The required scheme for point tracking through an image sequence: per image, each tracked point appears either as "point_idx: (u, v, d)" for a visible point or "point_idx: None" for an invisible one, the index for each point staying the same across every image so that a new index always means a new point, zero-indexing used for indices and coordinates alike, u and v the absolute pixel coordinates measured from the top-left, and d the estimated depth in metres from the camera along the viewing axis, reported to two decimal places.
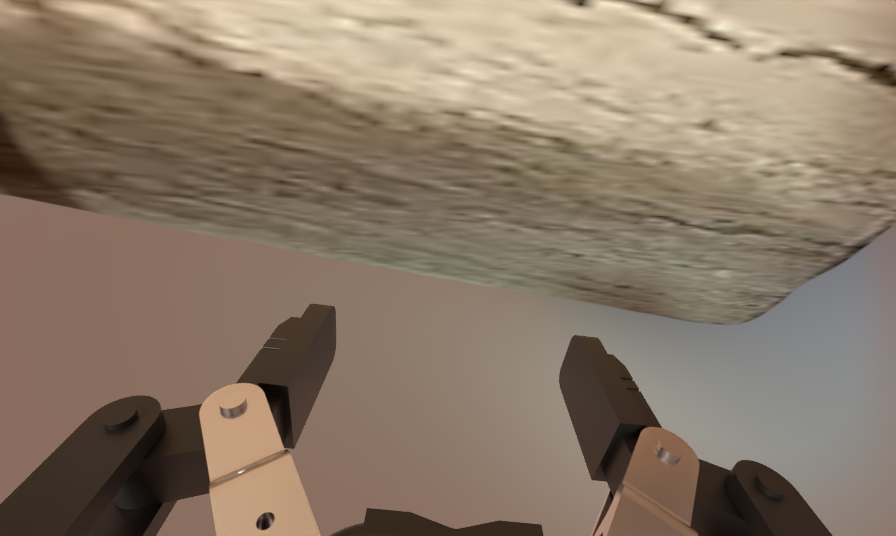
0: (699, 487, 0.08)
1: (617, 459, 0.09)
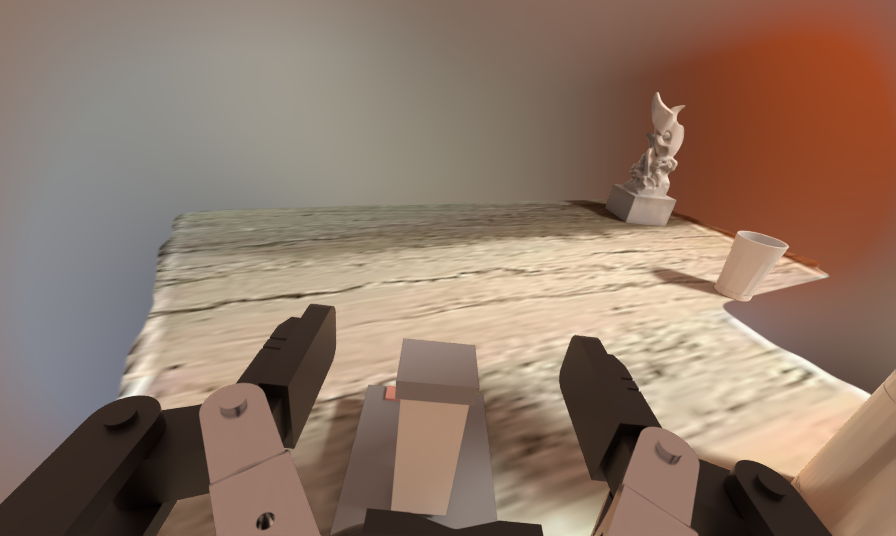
0: (699, 487, 0.08)
1: (617, 459, 0.09)
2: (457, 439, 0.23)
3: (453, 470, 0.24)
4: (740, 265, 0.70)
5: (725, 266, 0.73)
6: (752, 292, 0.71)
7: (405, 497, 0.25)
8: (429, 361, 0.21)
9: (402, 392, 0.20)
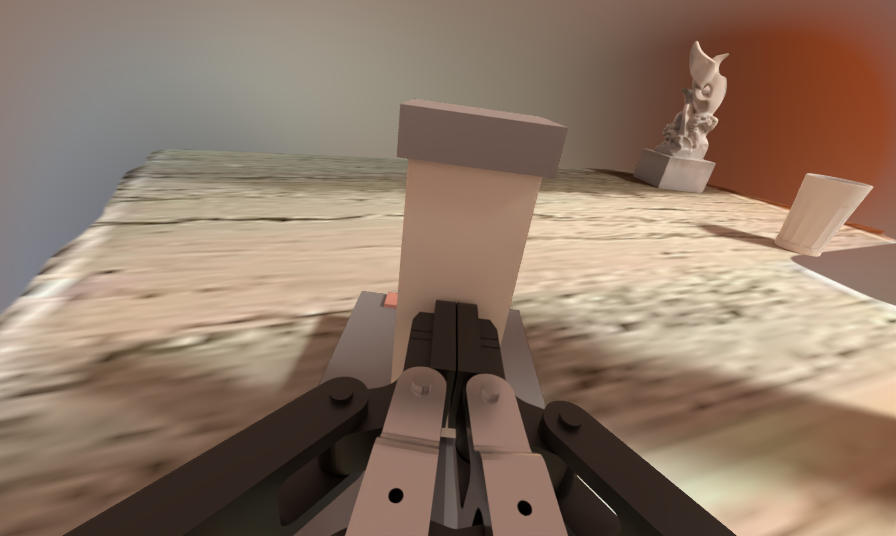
0: None
1: (459, 405, 0.10)
2: (509, 274, 0.12)
3: None
4: (811, 211, 0.58)
5: (790, 216, 0.62)
6: (824, 245, 0.60)
7: None
8: (463, 108, 0.11)
9: (412, 138, 0.10)
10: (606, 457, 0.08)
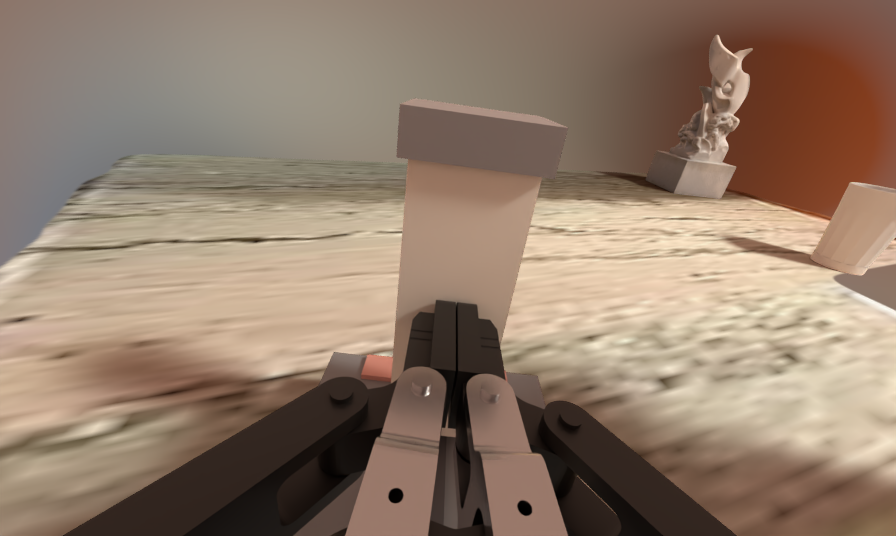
0: None
1: (459, 405, 0.10)
2: (509, 274, 0.12)
3: None
4: (856, 225, 0.52)
5: (830, 229, 0.55)
6: (870, 263, 0.53)
7: None
8: (463, 108, 0.11)
9: (411, 139, 0.10)
10: (606, 457, 0.08)
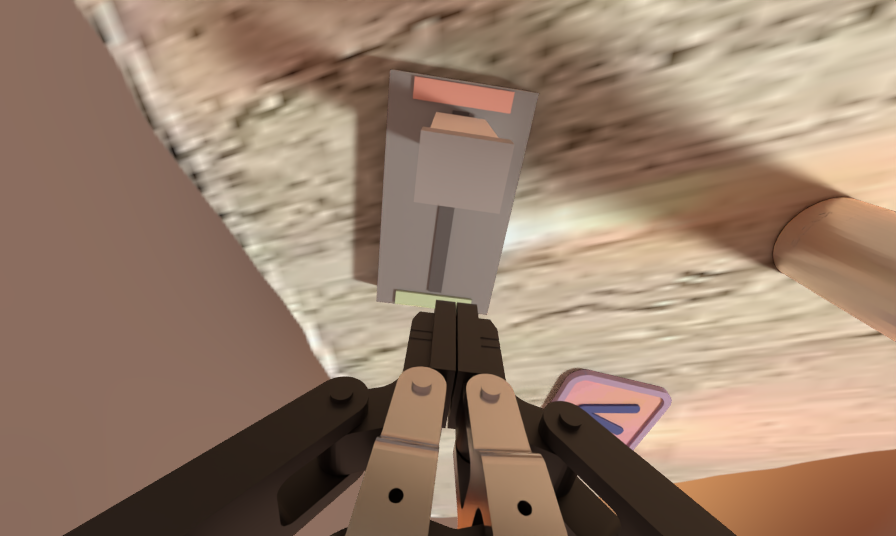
0: None
1: (459, 405, 0.10)
2: None
3: None
4: None
5: None
6: None
7: None
8: (451, 174, 0.18)
9: None
10: (606, 457, 0.08)
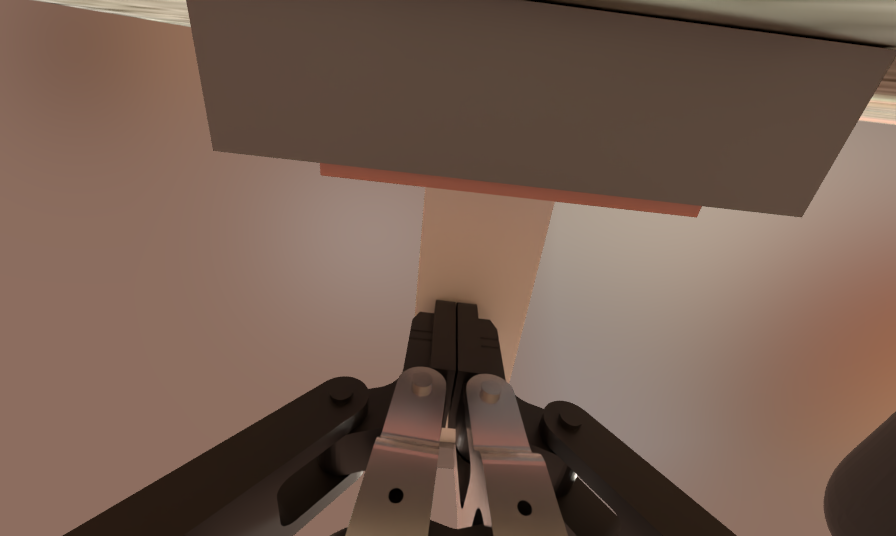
0: None
1: (459, 405, 0.10)
2: None
3: None
4: None
5: None
6: None
7: None
8: None
9: None
10: (606, 457, 0.08)
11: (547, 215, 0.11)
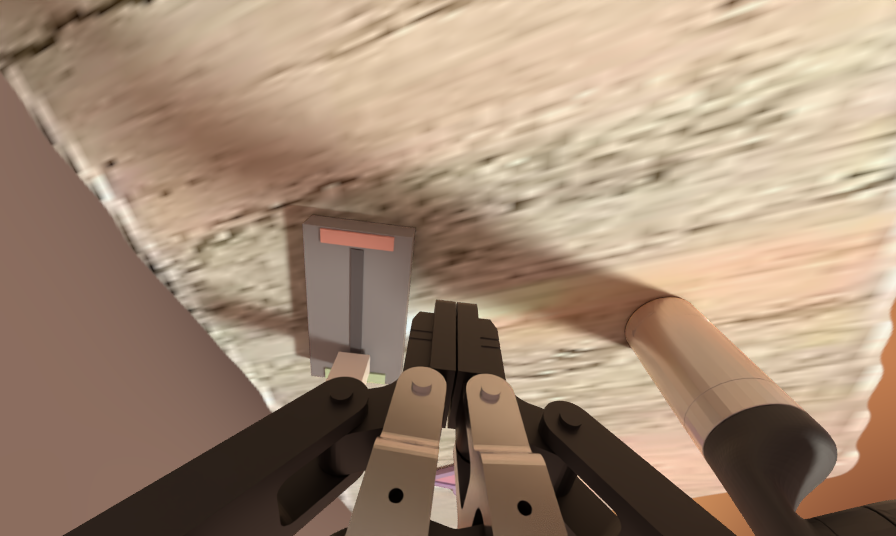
0: None
1: (459, 405, 0.10)
2: None
3: None
4: None
5: None
6: None
7: None
8: None
9: None
10: (606, 457, 0.08)
11: (367, 359, 0.46)
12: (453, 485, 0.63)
